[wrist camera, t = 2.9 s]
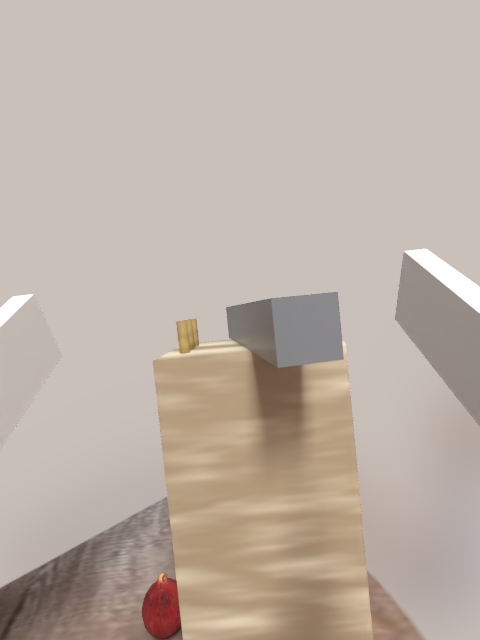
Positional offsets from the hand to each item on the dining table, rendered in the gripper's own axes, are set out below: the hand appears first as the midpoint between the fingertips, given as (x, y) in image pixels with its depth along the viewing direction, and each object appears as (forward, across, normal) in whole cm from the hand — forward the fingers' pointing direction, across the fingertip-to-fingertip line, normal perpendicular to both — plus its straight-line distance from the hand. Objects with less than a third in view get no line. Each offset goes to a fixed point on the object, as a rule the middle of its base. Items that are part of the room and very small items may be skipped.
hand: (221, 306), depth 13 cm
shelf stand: (0, 0, +48) cm, 48 cm away
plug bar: (+17, -2, +14) cm, 22 cm away
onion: (+8, +14, +52) cm, 55 cm away
